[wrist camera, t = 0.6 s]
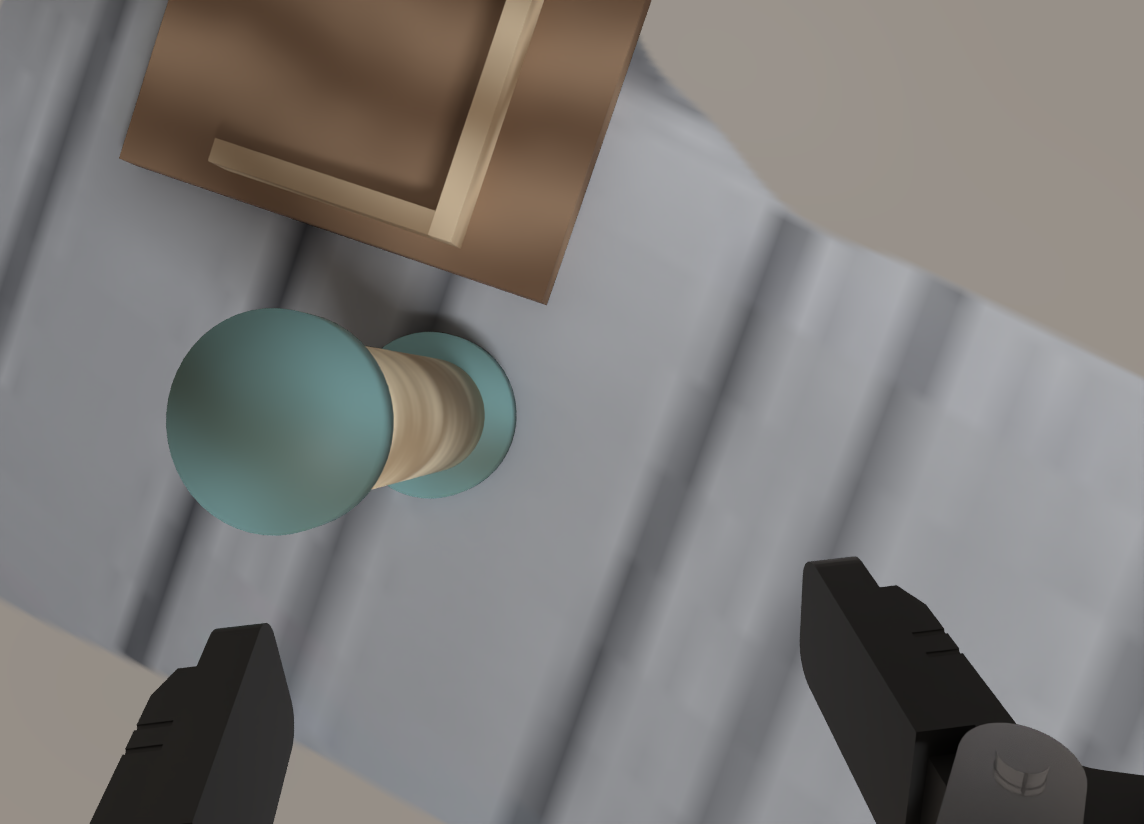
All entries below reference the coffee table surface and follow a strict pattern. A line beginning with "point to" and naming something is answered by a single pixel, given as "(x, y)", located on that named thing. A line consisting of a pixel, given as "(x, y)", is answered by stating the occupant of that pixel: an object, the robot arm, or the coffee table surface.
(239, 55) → the brown wooden tray
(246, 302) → the coffee table surface
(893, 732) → the robot arm
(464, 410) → the bobbin
